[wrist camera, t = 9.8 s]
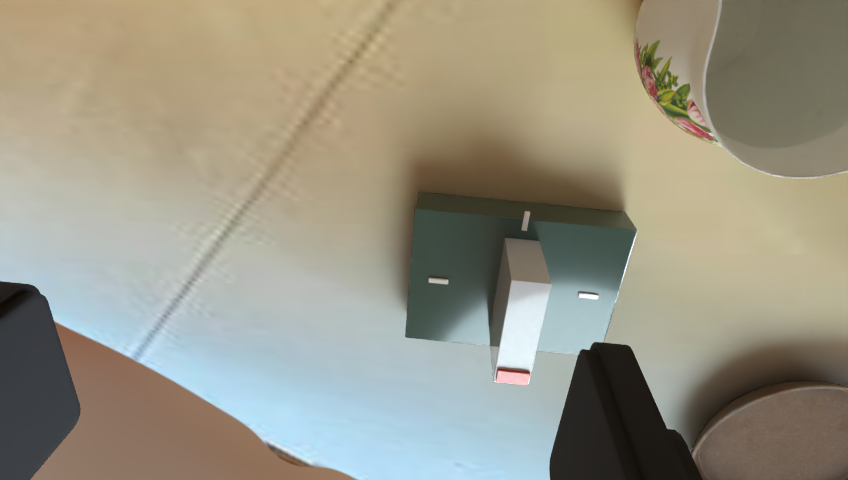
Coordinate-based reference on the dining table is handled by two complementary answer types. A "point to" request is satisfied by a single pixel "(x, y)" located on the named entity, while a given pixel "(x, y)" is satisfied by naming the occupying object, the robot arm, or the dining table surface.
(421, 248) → the plate
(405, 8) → the dining table surface
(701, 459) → the plant saucer
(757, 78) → the pitcher
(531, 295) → the tap handle
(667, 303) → the dining table surface
